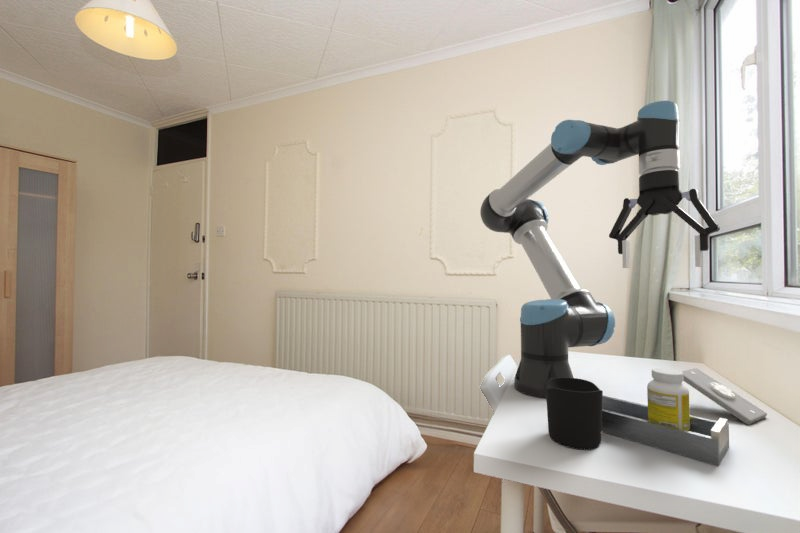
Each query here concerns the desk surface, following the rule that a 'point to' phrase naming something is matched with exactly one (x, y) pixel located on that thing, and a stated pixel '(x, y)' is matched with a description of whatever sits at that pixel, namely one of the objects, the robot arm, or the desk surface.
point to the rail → (666, 431)
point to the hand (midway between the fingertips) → (660, 267)
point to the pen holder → (574, 412)
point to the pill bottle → (668, 399)
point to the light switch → (723, 396)
